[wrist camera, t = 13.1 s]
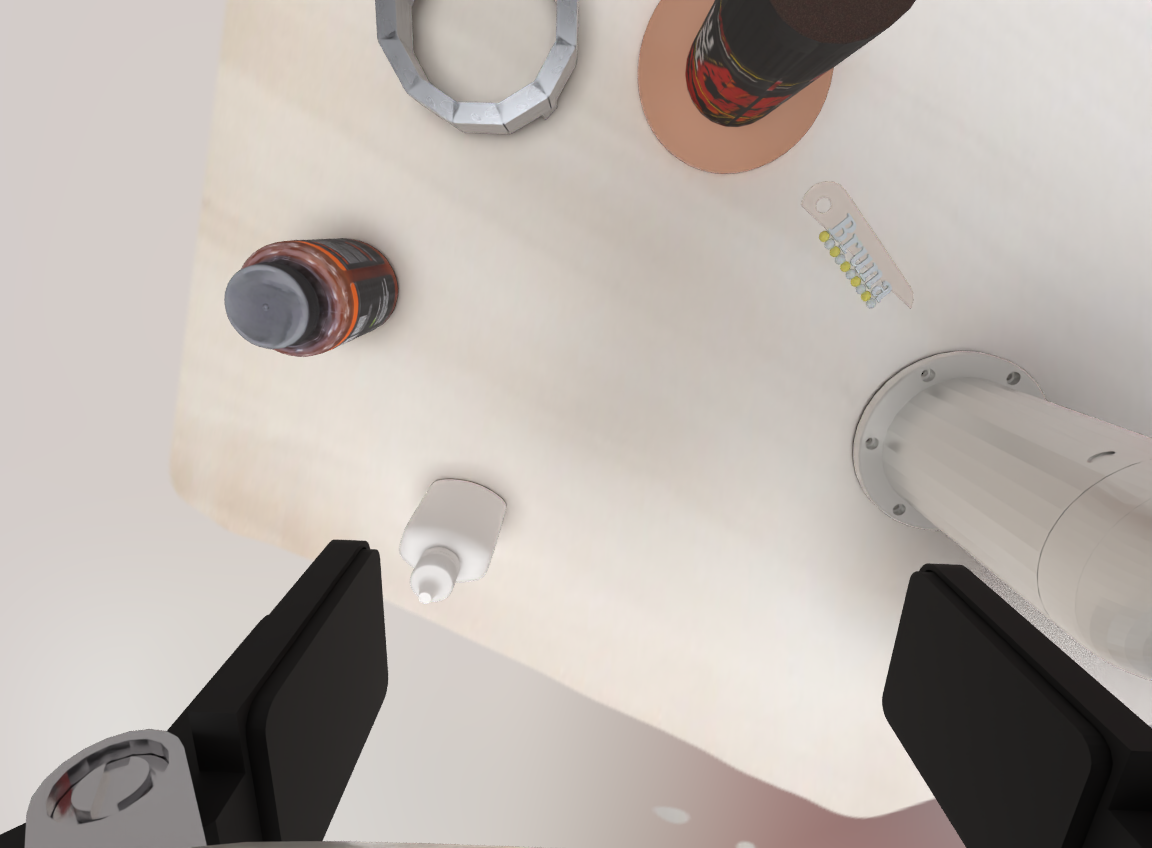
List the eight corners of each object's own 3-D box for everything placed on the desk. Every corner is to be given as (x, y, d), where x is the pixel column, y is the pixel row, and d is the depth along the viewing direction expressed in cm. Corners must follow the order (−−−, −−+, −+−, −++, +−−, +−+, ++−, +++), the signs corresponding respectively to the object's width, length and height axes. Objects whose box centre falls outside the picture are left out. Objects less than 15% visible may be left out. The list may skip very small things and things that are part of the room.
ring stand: (581, -58, 33) (580, -108, 28) (575, 141, 36) (573, 127, 31) (400, -63, 33) (368, -114, 28) (409, 136, 36) (382, 120, 31)
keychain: (792, 204, 36) (834, 169, 36) (789, 204, 37) (830, 170, 36) (884, 334, 39) (925, 304, 38) (879, 333, 39) (920, 303, 39)
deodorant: (672, 33, 33) (737, -126, 19) (776, -9, 33) (925, -207, 18) (701, 142, 35) (781, 71, 21) (801, 104, 34) (956, 4, 20)
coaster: (843, -39, 33) (849, -45, 32) (813, 176, 36) (818, 175, 35) (644, -45, 33) (645, -52, 32) (632, 170, 36) (633, 169, 36)
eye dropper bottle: (474, 546, 44) (435, 654, 33) (418, 494, 43) (358, 588, 32) (516, 510, 43) (491, 608, 32) (460, 456, 42) (414, 538, 31)
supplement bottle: (304, 236, 38) (191, 236, 27) (398, 240, 38) (322, 241, 27) (313, 331, 40) (211, 366, 29) (403, 334, 40) (334, 370, 29)
